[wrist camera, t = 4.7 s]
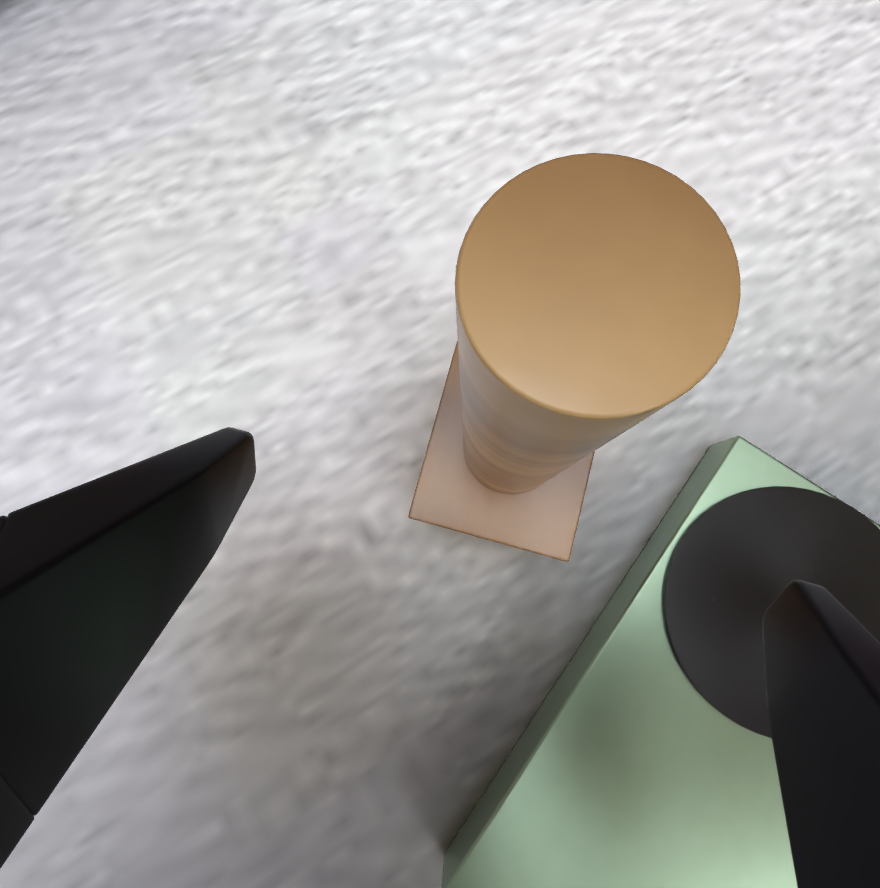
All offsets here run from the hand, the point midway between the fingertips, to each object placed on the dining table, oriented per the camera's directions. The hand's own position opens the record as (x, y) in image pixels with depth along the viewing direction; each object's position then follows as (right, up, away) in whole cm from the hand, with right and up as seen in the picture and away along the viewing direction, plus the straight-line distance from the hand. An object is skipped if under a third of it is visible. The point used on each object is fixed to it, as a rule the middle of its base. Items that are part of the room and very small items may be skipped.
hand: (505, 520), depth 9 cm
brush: (+1, +1, +10) cm, 10 cm away
